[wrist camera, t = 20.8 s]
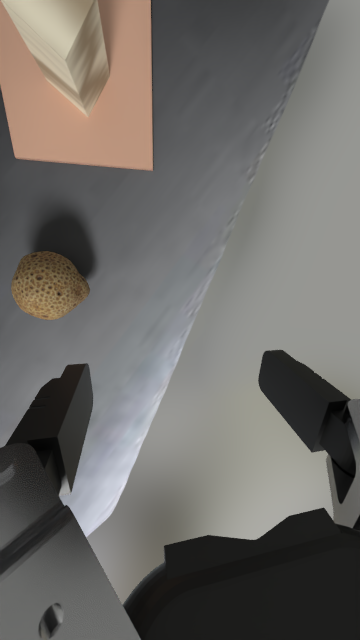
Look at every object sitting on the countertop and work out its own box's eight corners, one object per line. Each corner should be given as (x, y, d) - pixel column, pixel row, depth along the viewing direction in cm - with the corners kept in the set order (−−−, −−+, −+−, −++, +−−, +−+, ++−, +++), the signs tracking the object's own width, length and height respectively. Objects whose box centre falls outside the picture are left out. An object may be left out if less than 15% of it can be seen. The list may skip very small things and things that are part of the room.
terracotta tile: (17, 158, 29) (15, 157, 28) (-25, -49, 22) (-29, -56, 22) (152, 170, 32) (152, 169, 32) (150, -8, 26) (150, -13, 25)
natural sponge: (18, 259, 33) (-27, 268, 24) (75, 241, 34) (52, 243, 24) (49, 312, 37) (20, 337, 27) (99, 295, 37) (87, 314, 28)
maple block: (88, 117, 28) (65, 60, 19) (46, 80, 26) (-2, -4, 17) (109, 76, 27) (96, -6, 18) (68, 34, 25) (29, -81, 16)
